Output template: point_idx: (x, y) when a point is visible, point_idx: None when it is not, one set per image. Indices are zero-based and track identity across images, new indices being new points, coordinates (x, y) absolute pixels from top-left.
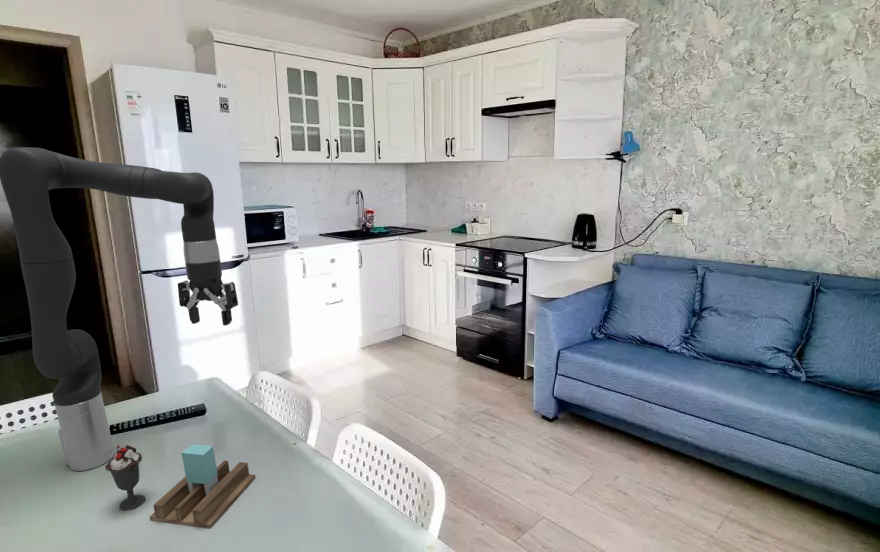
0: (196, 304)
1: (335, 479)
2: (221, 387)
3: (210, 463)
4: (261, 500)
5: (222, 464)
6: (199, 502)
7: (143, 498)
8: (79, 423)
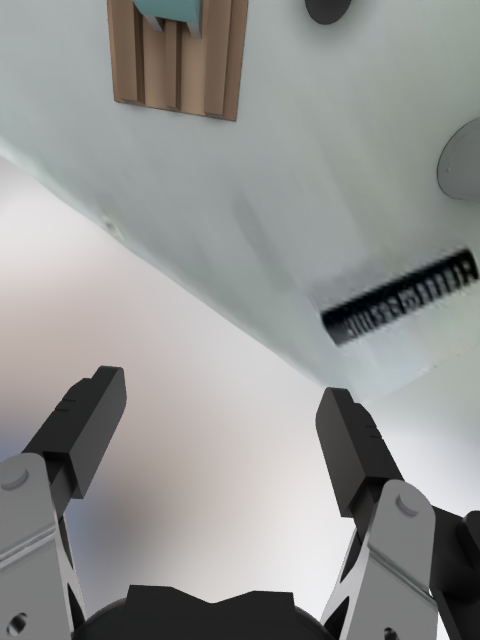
0: (356, 542)
1: None
2: None
3: None
4: (55, 11)
5: (169, 87)
6: None
7: (310, 4)
8: None
